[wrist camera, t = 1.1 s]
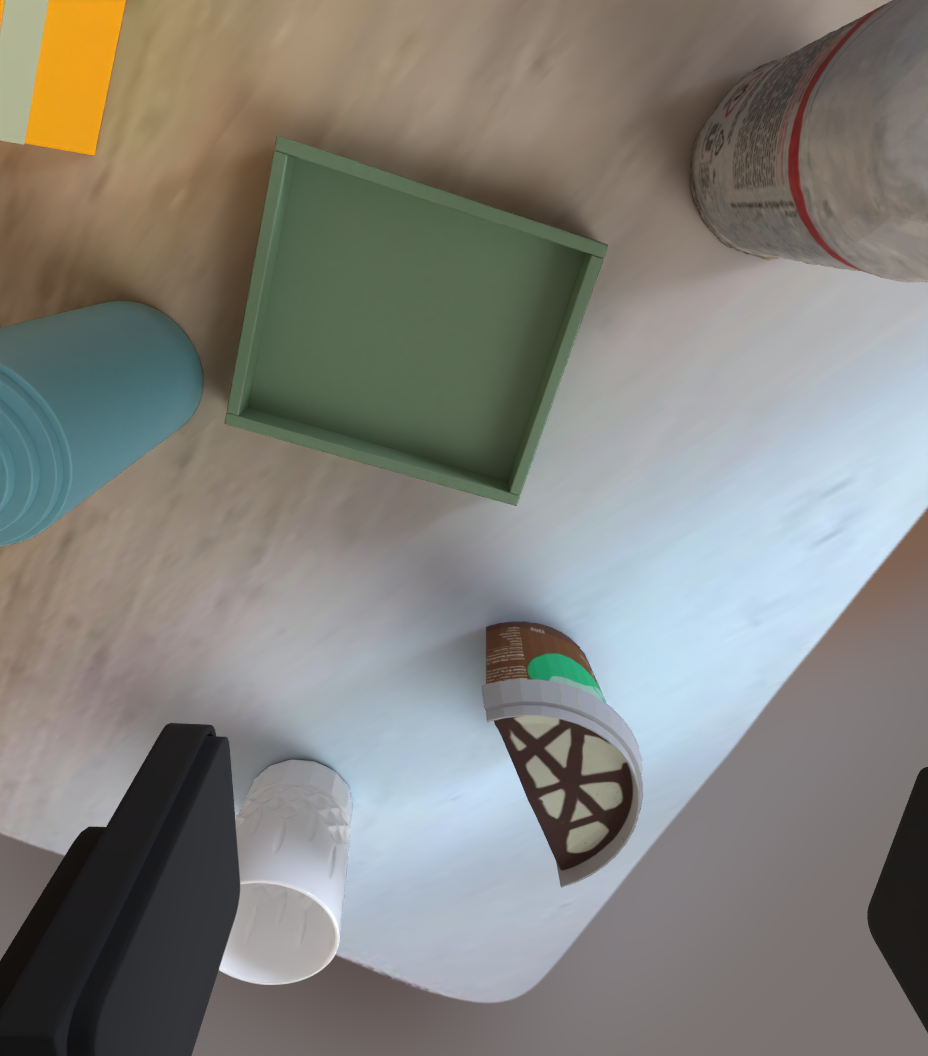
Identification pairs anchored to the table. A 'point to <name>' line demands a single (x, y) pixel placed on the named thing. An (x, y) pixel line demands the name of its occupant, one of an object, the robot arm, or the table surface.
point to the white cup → (290, 874)
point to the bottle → (85, 405)
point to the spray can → (827, 151)
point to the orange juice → (56, 70)
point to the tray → (406, 323)
